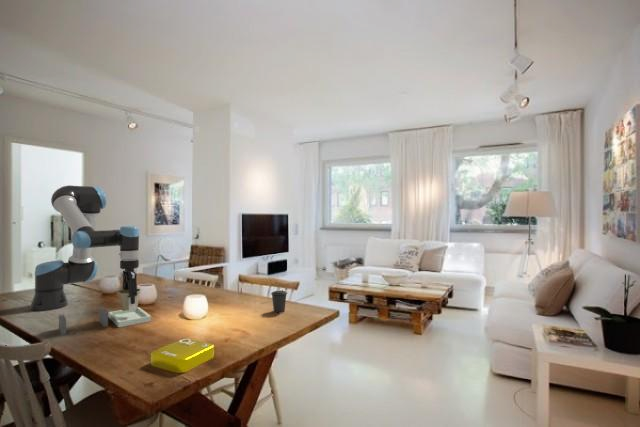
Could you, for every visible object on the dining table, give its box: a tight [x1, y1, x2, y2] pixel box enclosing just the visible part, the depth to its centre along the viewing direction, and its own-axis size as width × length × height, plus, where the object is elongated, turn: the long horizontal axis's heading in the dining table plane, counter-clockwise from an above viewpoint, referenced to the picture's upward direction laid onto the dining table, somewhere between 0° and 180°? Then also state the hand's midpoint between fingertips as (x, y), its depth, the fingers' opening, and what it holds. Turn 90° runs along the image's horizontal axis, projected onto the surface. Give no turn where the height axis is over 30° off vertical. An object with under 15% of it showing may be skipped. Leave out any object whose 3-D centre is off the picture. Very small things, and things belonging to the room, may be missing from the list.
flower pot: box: [117, 288, 142, 311], centre depth 157 cm, size 9×9×9 cm
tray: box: [108, 306, 152, 328], centre depth 157 cm, size 20×13×2 cm, turn 42°
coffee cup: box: [270, 290, 288, 314], centre depth 170 cm, size 8×8×10 cm
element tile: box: [150, 337, 215, 374], centre depth 113 cm, size 15×15×5 cm
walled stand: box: [58, 307, 109, 336], centre depth 146 cm, size 10×16×6 cm, turn 132°
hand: (129, 308), depth 157 cm, fingers closed on flower pot, 8 cm apart
